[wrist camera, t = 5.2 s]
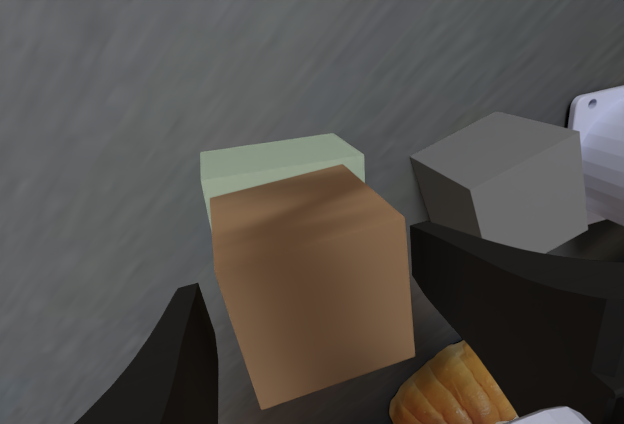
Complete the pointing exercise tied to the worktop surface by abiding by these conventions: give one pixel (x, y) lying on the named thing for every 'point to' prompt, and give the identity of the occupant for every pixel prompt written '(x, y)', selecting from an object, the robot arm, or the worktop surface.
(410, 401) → the pastry
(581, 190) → the charcoal cube
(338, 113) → the worktop surface
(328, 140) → the green base block
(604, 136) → the robot arm
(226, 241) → the walnut cube
